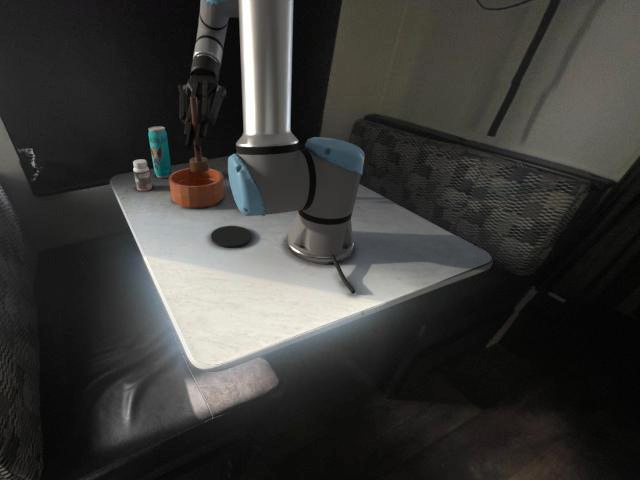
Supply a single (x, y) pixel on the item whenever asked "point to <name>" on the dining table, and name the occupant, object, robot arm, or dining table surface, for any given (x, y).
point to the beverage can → (160, 151)
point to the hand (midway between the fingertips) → (192, 148)
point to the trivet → (231, 236)
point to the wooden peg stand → (197, 162)
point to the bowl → (196, 188)
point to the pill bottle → (142, 175)
